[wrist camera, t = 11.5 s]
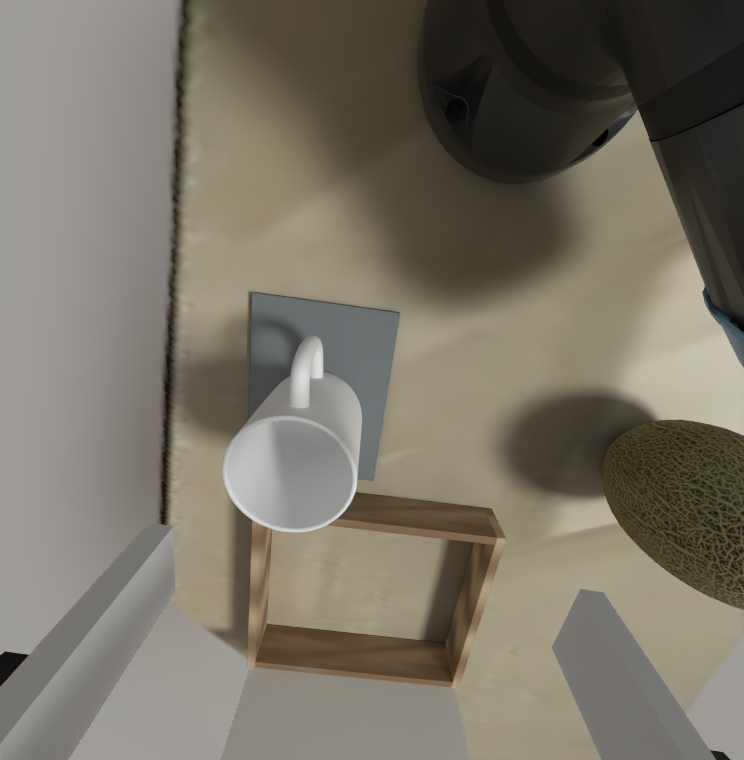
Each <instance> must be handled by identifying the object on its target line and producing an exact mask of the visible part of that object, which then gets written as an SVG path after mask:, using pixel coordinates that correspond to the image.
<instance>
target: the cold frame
mask: <svg viewBox="0 0 744 760" xmlns="http://www.w3.org/2000/svg"><path fill="white" fill-rule="evenodd" d="M328 525H330V526H338V527H347V528H355V529H364V530H372V531H381V532H389V533H398V534H406V535H415V536H423V537H432V538H440V539H449V540H457V541H466V542H474V545H473V548H472V552H471V555H470V559H469V562H468V566H467V569H466V573H465V576H464V580H463V583H462V587H461V590H460V594H459V597H458V601H457V604H456V608H455V611H454V615H453V618H452V622H451V625H450V629H449V633H448V636H447V640H446V643H437V642H428V641H418V640H409V639H400V638H390V637H381V636H372V635H362V634H353V633H343V632H334V631H325V630H315V629H306V628H297V627H287V626H278V625H269V624H267V607H268V590H269V572H270V555H271V537H272V529H271V528H268V527H265V526H263V525H261V524H259V523H257V522H255V521H253V520H252V541H251V570H250V598H249V627H248V655H247V666H248V667H256V668H266V669H275V670H285V671H295V672H305V673H314V674H324V675H334V676H344V677H354V678H363V679H373V680H383V681H393V682H402V683H412V684H422V685H432V686H441V687H451V688H459V685H460V682H461V679H462V676H463V673H464V670H465V667H466V663H467V660H468V657H469V654H470V651H471V648H472V645H473V641H474V638H475V635H476V632H477V629H478V626H479V623H480V620H481V616H482V613H483V610H484V607H485V604H486V601H487V598H488V594H489V591H490V588H491V585H492V582H493V579H494V576H495V573H496V569H497V566H498V563H499V560H500V557H501V554H502V551H503V547H504V544H505V541H506V537H505V535H504V533H503V531H502V529H501V527H500V525H499V523H498V521H497V519H496V517H495V515H494V513H493V511H492V509H487V508H479V507H471V506H463V505H454V504H446V503H438V502H429V501H421V500H413V499H405V498H396V497H388V496H380V495H372V494H363V493H355V494H354V497H353V499H352V501H351V503H350V505H349V506H348V507H347V509H346V510H345V511H344V512H343V513H342V514H341V515H340V516H339V517H338V518H337V519H335V520H334V521H333V522H331V523H329V524H328Z"/></svg>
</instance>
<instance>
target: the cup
mask: <svg viewBox="0 0 744 760" xmlns="http://www.w3.org/2000/svg"><path fill="white" fill-rule="evenodd" d="M361 429H362V411H361V406H360V402H359V400H358V398H357V396H356V394H355V392H354V391H353V390H352V388H351V387H350V386H349V385H348V384H347V383H346V382H345V381H343V380H342V379H341V378H339V377H337V376H335V375H333V374H330V373H327V372H323V346H322V342H321V340H320V339H319V338H318V337H317V336H314V335H311V336H308V337H306V338H305V339H304V340H303V342H302V343H301V344H300V346H299V348H298V350H297V352H296V355H295V357H294V361H293V364H292V369H291V375H290V377H288V378H286V379H285V380H283V381H282V382H281V383H280V384H279V385H278V386H277V387H276V388H275V389H274V390H273V391H272V393H271V394H270V395H269V396H268V397H267V398H266V400H265V401H264V402H263V403H262V404H261V406H260V407H259V408H258V409H257V410H256V412H255V413H254V414H253V415H252V416H251V417H250V419H249V420H248V421H247V422H246V423H245V425H244V426H243V427H242V428H241V429H240V431H239V432H238V433H237V434H236V435H235V436H234V438H233V439H232V440H231V442H230V443H229V445H228V447H227V449H226V452H225V455H224V458H223V465H222V473H223V480H224V484H225V487H226V490H227V492H228V494H229V496H230V498H231V499H232V501H233V502H234V504H235V505H236V506H237V507H238V508H239V509H240V510H241V511H242V512H243V513H244V514H245V515H246V516H247V517H249V518H250V519H252V520H253V521H255V522H257V523H259V524H261V525H263V526H265V527H268V528H271V529H274V530H278V531H284V532H306V531H311V530H315V529H318V528H321V527H323V526H325V525H328V524H329V523H331V522H333V521H334V520H335V519H337V518H338V517H339V516H340V515H341V514H342V513H343V512H344V511H345V510H346V509H347V507H348V506H349V505H350V503H351V501H352V499H353V497H354V494H355V491H356V486H357V477H358V465H359V453H360V441H361Z"/></svg>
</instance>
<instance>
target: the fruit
mask: <svg viewBox="0 0 744 760" xmlns="http://www.w3.org/2000/svg"><path fill="white" fill-rule="evenodd" d="M602 479H603V488H604V492H605V496H606V499H607V502H608V504H609V507H610V509H611V511H612V513H613V514H614V516H615V518H616V519H617V521H618V523H619V524H620V526H621V527H622V528H623V529H624V531H625V532H626V533H627V534H628V535H629V536H630V538H631V539H632V540H633V541H634V542H635V543H636V544H637V545H638V546H639V547H640V548H641V549H642V550H643V551H644V552H645V553H646V554H647V555H648V556H649V557H651V558H652V559H653V560H654V561H655V562H656V563H658V564H659V565H660V566H661V567H663V568H664V569H665V570H667V571H668V572H669V573H671V574H672V575H673V576H675V577H676V578H678V579H679V580H681V581H683V582H684V583H686V584H687V585H689V586H691V587H692V588H694V589H696V590H698V591H700V592H701V593H703V594H705V595H707V596H709V597H711V598H714V599H716V600H719V601H721V602H723V603H726V604H728V605H731V606H733V607H736V608H739V609H743V610H744V436H743V435H741V434H738V433H735V432H733V431H730V430H728V429H724V428H721V427H717V426H713V425H709V424H704V423H699V422H693V421H686V420H661V421H652V422H647V423H644V424H641V425H639V426H636V427H634V428H632V429H630V430H628V431H626V432H625V433H623V434H622V435H620V436H619V437H618V438H617V439H615V440H614V441H613V442H612V443H611V444H610V446H609V447H608V449H607V451H606V453H605V457H604V463H603V472H602Z"/></svg>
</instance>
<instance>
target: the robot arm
mask: <svg viewBox="0 0 744 760" xmlns="http://www.w3.org/2000/svg"><path fill="white" fill-rule="evenodd" d="M418 72H419V83H420V90H421V95H422V100H423V104H424V107H425V110H426V113H427V116H428V119H429V121H430V123H431V126H432V128H433V130H434V132H435V133H436V135H437V137H438V138H439V140H440V141H441V143H442V144H443V146H444V147H445V148H446V149H447V151H448V152H449V153H450V154H451V155H452V156H453V157H454V158H455V159H456V160H457V161H458V162H459V163H461V164H462V165H463V166H465V167H466V168H467V169H469V170H471V171H472V172H474V173H476V174H478V175H480V176H482V177H485V178H487V179H491V180H494V181H499V182H505V183H528V182H534V181H539V180H542V179H546V178H549V177H551V176H554V175H556V174H559V173H561V172H563V171H565V170H567V169H568V168H570V167H572V166H574V165H576V164H578V163H580V162H581V161H583V160H585V159H587V158H588V157H590V156H591V155H593V154H594V153H595V152H597V151H598V150H599V149H601V148H602V147H603V146H604V145H605V144H607V143H608V142H609V141H610V140H611V139H612V138H613V137H614V136H615V135H616V134H617V133H618V132H619V131H620V130H621V129H622V128H623V127H624V126H625V125H626V124H627V122H628V121H629V120H630V119H631V117H632V116H633V115H634V114H635V112H636V111H637V110H639V112H640V115H641V118H642V120H643V123H644V125H645V128H646V130H647V133H648V136H649V140H650V142H651V145H652V148H653V150H654V153H655V156H656V158H657V161H658V163H659V166H660V169H661V171H662V174H663V177H664V179H665V182H666V184H667V187H668V190H669V192H670V195H671V198H672V200H673V203H674V205H675V208H676V211H677V213H678V216H679V218H680V221H681V224H682V226H683V229H684V232H685V234H686V237H687V239H688V242H689V245H690V247H691V250H692V253H693V255H694V258H695V260H696V263H697V266H698V268H699V271H700V274H701V276H702V279H703V281H704V284H705V288H704V290H703V292H702V293H703V297H704V302H705V304H706V306H707V308H708V310H709V311H710V313H711V315H712V316H713V317H714V318H715V320H716V321H717V322H718V323H719V324H720V325H721V326H722V327H723V329H724V331H725V333H726V335H727V337H728V339H729V341H730V343H731V345H732V348H733V350H734V352H735V354H736V356H737V358H738V360H739V361H740V363H741V364H742V366H743V367H744V0H427V4H426V9H425V14H424V19H423V24H422V29H421V35H420V42H419V54H418ZM174 592H175V577H174V536H173V526H167V525H161V524H153V523H148V524H147V525H146V526H145V527H144V528H143V530H142V531H141V532H140V533H139V534H138V535H137V536H136V537H135V538H134V539H133V541H132V542H131V543H130V544H129V545H128V546H127V547H126V549H124V551H123V552H122V553H121V554H120V555H119V556H118V557H117V558H116V559H115V560H114V562H113V563H112V564H111V565H110V566H109V567H108V568H107V569H106V571H105V572H104V573H103V574H102V575H101V576H100V577H99V578H98V579H97V580H96V581H95V583H94V584H93V585H92V586H91V587H90V588H89V589H88V590H87V592H86V593H85V594H84V595H83V596H82V597H81V598H80V599H79V601H78V602H77V603H76V604H75V605H74V606H73V607H72V608H71V609H70V610H69V611H68V613H67V614H66V615H65V616H64V617H63V618H62V619H61V620H60V621H59V623H58V624H57V625H56V626H55V627H54V628H53V629H52V630H51V631H50V632H49V634H48V635H47V636H46V637H45V638H44V639H43V640H42V641H41V642H40V644H39V645H38V646H37V647H36V648H35V649H34V650H33V652H32V653H31V654H30V655H26V654H19V653H12V652H4V653H3V654H1V655H0V760H68V759H69V757H70V756H71V755H72V753H73V751H74V750H75V748H76V747H77V745H78V744H79V742H80V740H81V739H82V737H83V736H84V734H85V732H86V731H87V729H88V728H89V726H90V725H91V723H92V721H93V720H94V718H95V716H96V715H97V714H98V712H99V710H100V709H101V707H102V706H103V704H104V702H105V701H106V699H107V698H108V696H109V695H110V693H111V691H112V690H113V688H114V687H115V685H116V683H117V682H118V680H119V679H120V677H121V676H122V674H123V672H124V671H125V669H126V668H127V666H128V665H129V663H130V661H131V660H132V658H133V657H134V655H135V653H136V652H137V650H138V649H139V647H140V646H141V644H142V642H143V641H144V639H145V638H146V636H147V635H148V633H149V631H150V630H151V628H152V627H153V625H154V624H155V622H156V620H157V619H158V617H159V616H160V614H161V612H162V611H163V609H164V608H165V606H166V605H167V603H168V601H169V600H170V598H171V597H172V595H173V594H174ZM552 649H553V651H554V653H555V656H556V658H557V660H558V662H559V665H560V667H561V669H562V671H563V674H564V676H565V678H566V680H567V683H568V685H569V687H570V689H571V692H572V694H573V696H574V698H575V701H576V703H577V705H578V707H579V710H580V712H581V714H582V716H583V719H584V721H585V723H586V725H587V728H588V730H589V732H590V734H591V737H592V739H593V741H594V743H595V746H596V748H597V750H598V752H599V755H600V757H601V759H602V760H730V759H729V758H728V757H727V756H726V755H725V754H724V753H723V752H718V751H711V750H709V748H708V747H707V745H706V744H705V742H704V741H703V740H702V738H701V736H700V735H699V734H698V732H697V731H696V729H695V728H694V726H693V725H692V723H691V722H690V720H689V719H688V717H687V716H686V714H685V713H684V711H683V710H682V708H681V707H680V705H679V704H678V702H677V701H676V699H675V698H674V697H673V695H672V694H671V692H670V691H669V689H668V688H667V686H666V685H665V683H664V682H663V680H662V679H661V677H660V676H659V674H658V673H657V671H656V670H655V668H654V667H653V665H652V664H651V662H650V661H649V659H648V658H647V657H646V655H645V654H644V652H643V651H642V649H641V648H640V646H639V645H638V643H637V642H636V640H635V639H634V637H633V636H632V634H631V633H630V631H629V630H628V628H627V627H626V625H625V624H624V622H623V621H622V620H621V618H620V617H619V615H618V614H617V612H616V611H615V609H614V608H613V606H612V605H611V603H610V602H609V600H608V599H607V597H606V596H605V594H604V593H603V592H596V591H590V590H583V589H580V591H579V593H578V595H577V597H576V599H575V601H574V603H573V605H572V607H571V609H570V611H569V613H568V615H567V618H566V620H565V622H564V624H563V626H562V628H561V630H560V632H559V634H558V636H557V638H556V640H555V642H554V644H553V646H552Z"/></svg>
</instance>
